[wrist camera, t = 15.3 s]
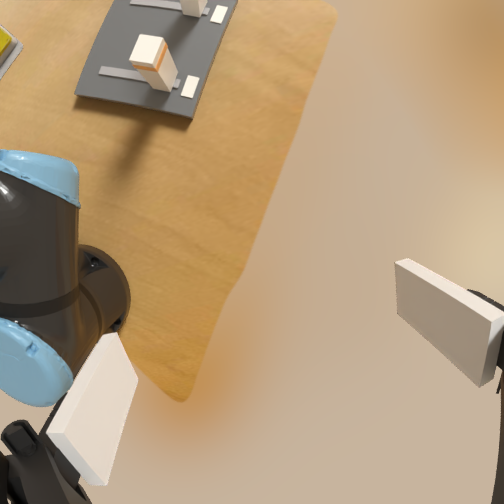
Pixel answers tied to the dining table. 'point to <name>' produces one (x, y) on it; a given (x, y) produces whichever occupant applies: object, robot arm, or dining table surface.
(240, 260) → the dining table surface
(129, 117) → the dining table surface
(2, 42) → the emergency button
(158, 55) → the block
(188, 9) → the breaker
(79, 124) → the dining table surface
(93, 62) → the panel
